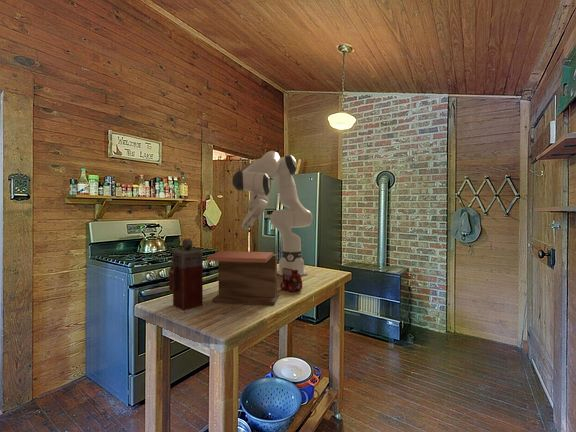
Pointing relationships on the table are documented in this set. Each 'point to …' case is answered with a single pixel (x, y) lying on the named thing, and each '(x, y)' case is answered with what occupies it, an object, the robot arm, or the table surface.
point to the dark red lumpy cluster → (291, 280)
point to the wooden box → (248, 282)
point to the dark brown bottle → (186, 277)
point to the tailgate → (240, 256)
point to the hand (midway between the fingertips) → (249, 226)
